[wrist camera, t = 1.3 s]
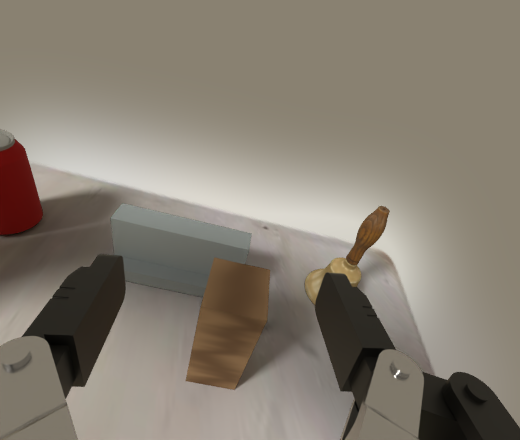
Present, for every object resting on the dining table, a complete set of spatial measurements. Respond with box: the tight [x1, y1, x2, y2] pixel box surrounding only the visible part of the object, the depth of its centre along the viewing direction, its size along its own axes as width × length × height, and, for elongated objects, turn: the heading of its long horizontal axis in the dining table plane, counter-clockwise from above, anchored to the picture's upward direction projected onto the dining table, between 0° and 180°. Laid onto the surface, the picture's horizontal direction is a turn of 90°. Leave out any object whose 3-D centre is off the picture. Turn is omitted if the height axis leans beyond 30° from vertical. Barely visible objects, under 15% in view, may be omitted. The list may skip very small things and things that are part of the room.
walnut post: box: [186, 257, 270, 390], centre depth 27 cm, size 5×5×13 cm
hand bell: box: [305, 206, 390, 305], centre depth 38 cm, size 8×8×16 cm
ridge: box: [110, 203, 252, 297], centre depth 36 cm, size 16×7×8 cm, turn 86°
